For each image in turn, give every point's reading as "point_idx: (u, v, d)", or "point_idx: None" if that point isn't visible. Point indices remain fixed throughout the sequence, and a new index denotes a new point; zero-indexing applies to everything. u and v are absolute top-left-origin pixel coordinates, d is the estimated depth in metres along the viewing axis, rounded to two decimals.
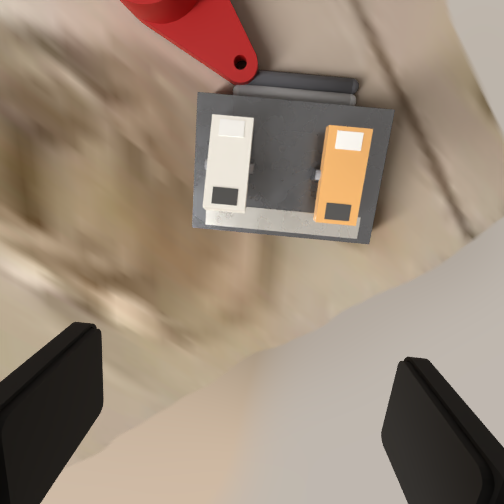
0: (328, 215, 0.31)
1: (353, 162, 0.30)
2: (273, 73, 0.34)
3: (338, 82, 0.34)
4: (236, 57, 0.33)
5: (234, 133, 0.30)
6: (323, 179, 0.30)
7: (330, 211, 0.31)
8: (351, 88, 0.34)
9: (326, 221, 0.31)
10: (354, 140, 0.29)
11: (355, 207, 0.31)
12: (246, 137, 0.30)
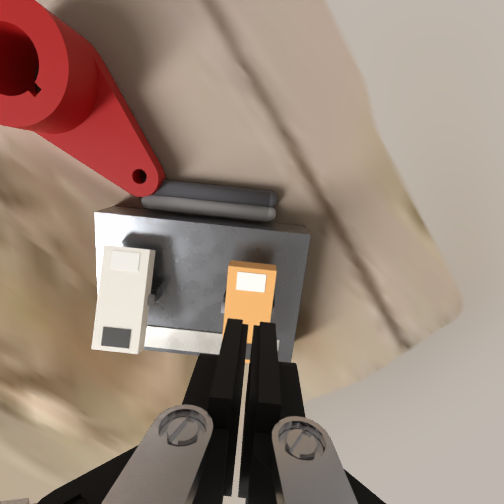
0: None
1: (257, 303, 0.27)
2: (183, 185, 0.31)
3: (254, 196, 0.31)
4: (136, 170, 0.30)
5: (128, 267, 0.27)
6: (226, 318, 0.28)
7: None
8: (268, 203, 0.31)
9: None
10: (256, 282, 0.26)
11: None
12: (141, 272, 0.27)
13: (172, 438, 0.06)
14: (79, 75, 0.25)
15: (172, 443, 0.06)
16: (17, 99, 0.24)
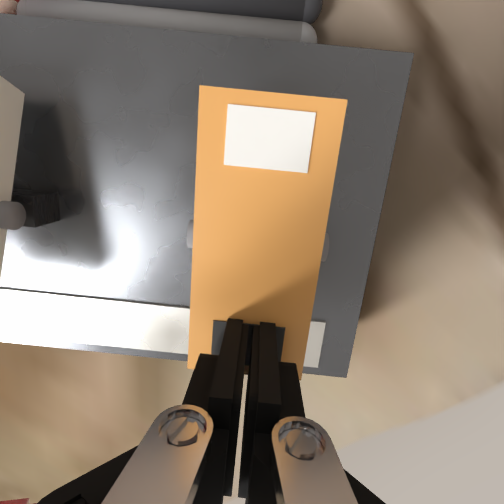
0: None
1: (285, 208, 0.09)
2: None
3: None
4: None
5: None
6: (198, 256, 0.10)
7: None
8: (303, 5, 0.13)
9: None
10: (285, 138, 0.09)
11: (297, 334, 0.11)
12: None
13: (172, 438, 0.06)
14: None
15: (172, 443, 0.06)
16: None
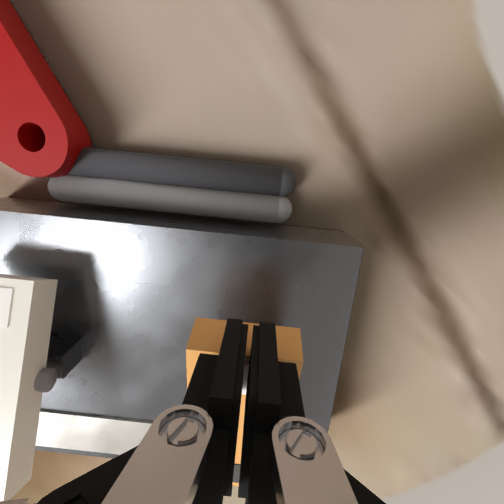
0: None
1: None
2: (120, 156, 0.17)
3: (252, 176, 0.16)
4: (27, 126, 0.16)
5: None
6: None
7: None
8: (279, 188, 0.17)
9: None
10: None
11: None
12: (15, 328, 0.13)
13: (172, 438, 0.06)
14: None
15: (172, 443, 0.06)
16: None
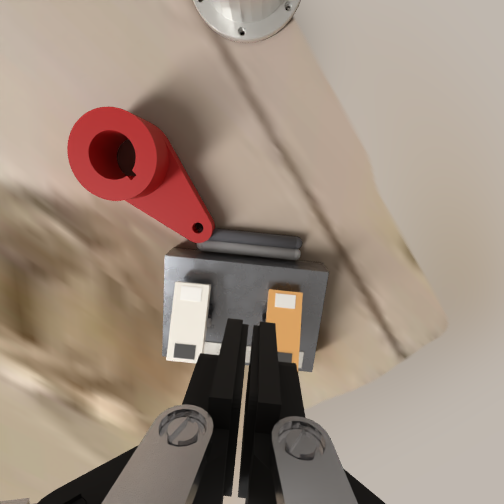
0: None
1: (290, 317, 0.37)
2: (230, 233, 0.40)
3: (284, 242, 0.40)
4: (195, 223, 0.39)
5: (193, 298, 0.37)
6: None
7: None
8: (295, 246, 0.40)
9: None
10: (289, 300, 0.37)
11: (295, 355, 0.36)
12: (203, 302, 0.37)
13: (172, 438, 0.06)
14: (161, 161, 0.35)
15: (172, 443, 0.06)
16: (118, 181, 0.34)
